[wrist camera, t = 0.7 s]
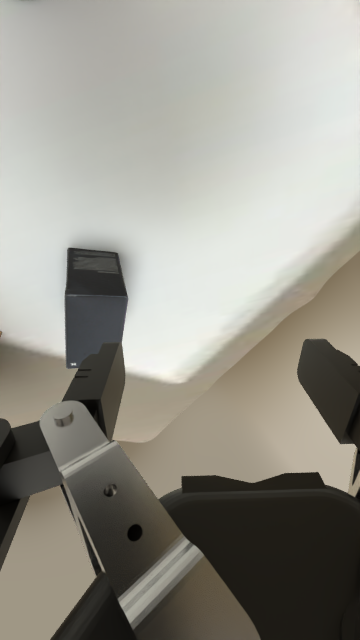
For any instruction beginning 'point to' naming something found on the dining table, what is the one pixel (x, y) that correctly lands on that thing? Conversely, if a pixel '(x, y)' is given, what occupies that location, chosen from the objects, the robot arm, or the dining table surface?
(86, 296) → the small box
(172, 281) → the dining table surface
